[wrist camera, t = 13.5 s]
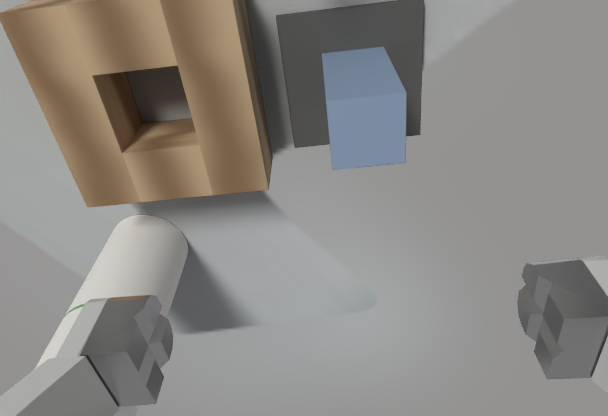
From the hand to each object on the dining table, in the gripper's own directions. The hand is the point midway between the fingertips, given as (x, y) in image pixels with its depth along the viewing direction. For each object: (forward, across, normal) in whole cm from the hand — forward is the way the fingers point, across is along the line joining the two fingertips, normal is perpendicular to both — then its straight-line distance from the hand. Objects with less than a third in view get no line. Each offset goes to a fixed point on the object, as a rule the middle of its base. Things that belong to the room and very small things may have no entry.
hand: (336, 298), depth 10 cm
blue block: (+26, -2, +5) cm, 26 cm away
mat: (+26, -2, +5) cm, 27 cm away
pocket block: (+26, +12, +3) cm, 29 cm away
